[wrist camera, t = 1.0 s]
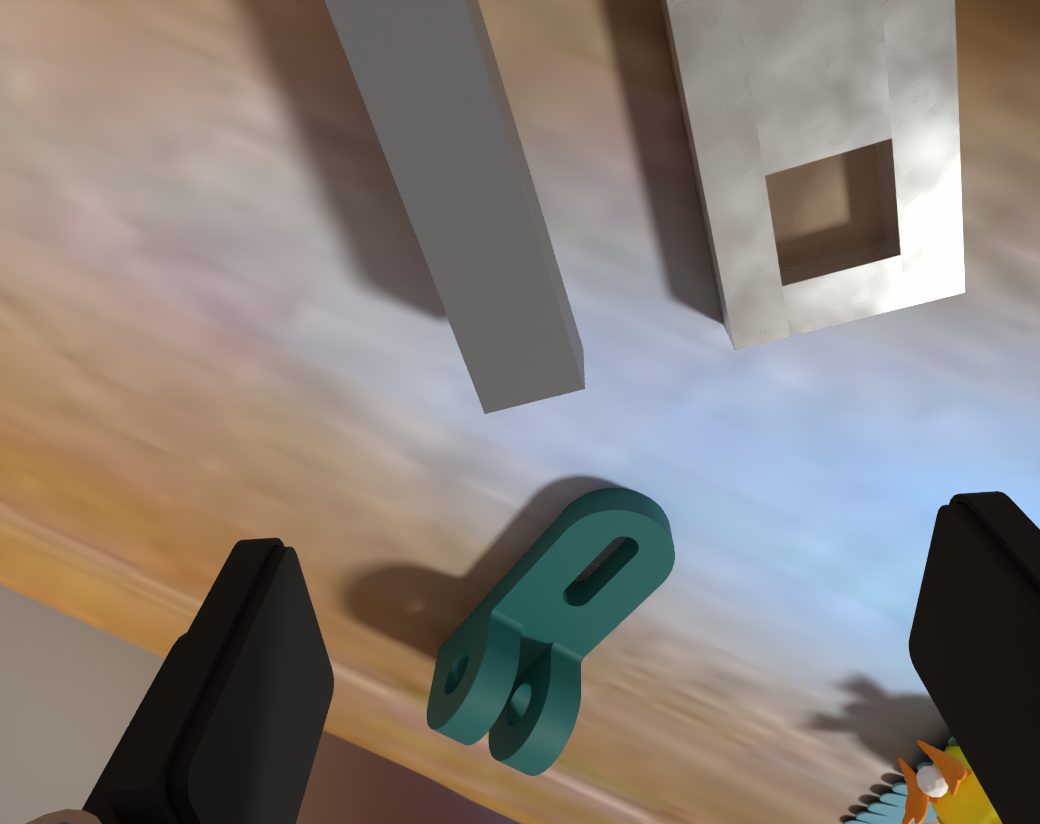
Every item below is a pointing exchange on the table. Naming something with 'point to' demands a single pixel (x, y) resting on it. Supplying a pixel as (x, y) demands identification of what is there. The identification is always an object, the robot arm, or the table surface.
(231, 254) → the table surface
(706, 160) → the mounting plate
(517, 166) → the grey bar
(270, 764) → the robot arm
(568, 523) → the bracket
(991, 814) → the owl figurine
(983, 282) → the table surface
